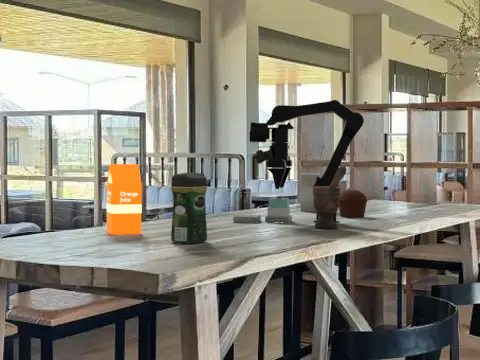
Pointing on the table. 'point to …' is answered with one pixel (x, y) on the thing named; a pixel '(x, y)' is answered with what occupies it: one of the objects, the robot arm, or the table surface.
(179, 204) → the coffee jar
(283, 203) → the housing
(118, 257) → the table surface
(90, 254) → the table surface
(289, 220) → the stand
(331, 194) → the mortar and pestle
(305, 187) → the circuit breaker
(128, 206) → the orange juice
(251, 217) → the stand
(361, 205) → the muffin
